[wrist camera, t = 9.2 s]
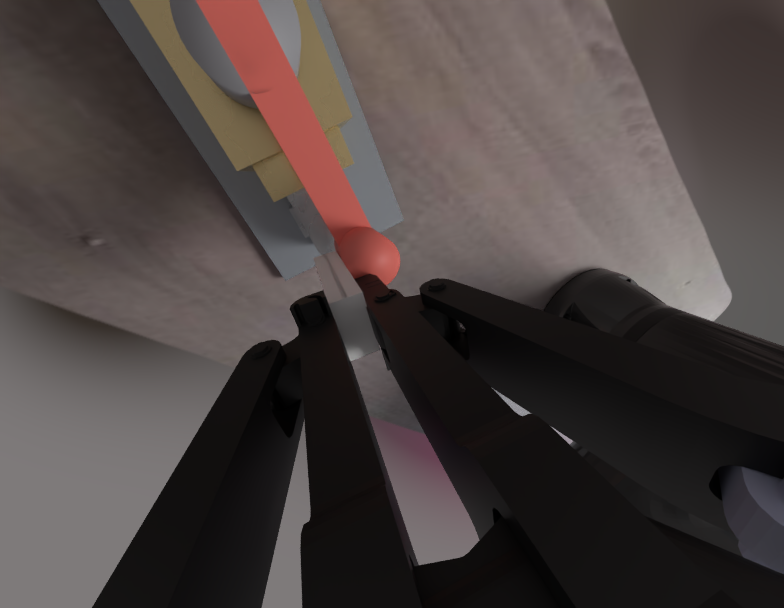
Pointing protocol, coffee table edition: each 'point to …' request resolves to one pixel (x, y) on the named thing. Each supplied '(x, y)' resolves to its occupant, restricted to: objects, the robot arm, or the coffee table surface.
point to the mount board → (246, 187)
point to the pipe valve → (247, 125)
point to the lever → (283, 110)
